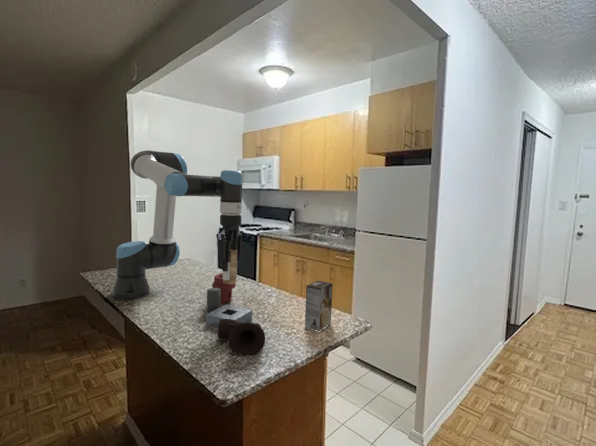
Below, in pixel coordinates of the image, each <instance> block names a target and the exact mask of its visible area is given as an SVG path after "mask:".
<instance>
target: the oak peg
mask: <svg viewBox="0 0 596 446" xmlns="http://www.w3.org/2000/svg"><path fill="white" fill-rule="evenodd" d="M229 262H230V280H223V283H226V284H233V283H237V278H236V275H237V276H238V260H237V250H233V249H230V256H229Z"/></svg>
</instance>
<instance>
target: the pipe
mask: <svg viewBox="0 0 596 446" xmlns="http://www.w3.org/2000/svg"><path fill="white" fill-rule="evenodd" d="M217 339H218V340H221V341H227V343H228V346H229V348H230V350H231V351H232V352H233V353H234V354H237V355H240V356H242V357H251V356H255V355H257V354H258V353H260V352H261V351H262V350H263V348H264V346H265V343H266V334H265V331H264V329H263V328H262V326H261V324H260V323H257V322H256V323H255V322H251V321H250V322H244V323H243V322H237V321H235V320H233V319H221V320H220V322H219V327H218V328H217Z"/></svg>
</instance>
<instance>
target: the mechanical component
mask: <svg viewBox="0 0 596 446" xmlns="http://www.w3.org/2000/svg"><path fill="white" fill-rule="evenodd" d="M213 280H214V281H213V282H212V283H211V288H219V289H221V299H220V305H221V304H222V305H223V304H225V303H228V302H229V303H230V302H232V298H233V297H232V296H233V289H235V288H236V286H237V285H236V283H237V282H236V283H233V284H226V283H223V272H221V273H218V274H215V275H214V277H213Z"/></svg>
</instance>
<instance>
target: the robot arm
mask: <svg viewBox="0 0 596 446" xmlns="http://www.w3.org/2000/svg"><path fill="white" fill-rule="evenodd" d="M130 169H131V170H132V172H133V173H134V175H136V176H137V177H139V178H142V179H146V180H147V179H149V180H151V181H152V182H153V183H154V184H155V185H156V191H155V192H156V193H155V202H154V203H155V204H154V206H155V207H154V216H153V217H154V219H153V230H152V236H150V237H149V239H148V243H146V242H145V241H143V240H142V241H141V240H137V241H135V240H134V241H129V242H124V243H122V244H120V245H118V246H117V247H116V255H115V258H116V261H115V262H116V280H115V283H114V285H113V289H112V292H111V293H112V295H111V296H112V297H113V298H115V299H118V300H131V299H140V298H143V297H146V296H148V295H149V294H150V292H151V290H150V289H151V288H150V285H149V282H148V278H147V276H146V270H151V269H158V268H167V267H171V266H174V265H175V264H176V263H177V262H178V260H179V258H180V254H181V253H180V251H181V249H180V245H179V243H178V242H177V241H176V239H175V238H174V236H173V235H174V223H175V212H176V203H177V202H176V200H177V197H209V198H211V197H215V198H217V197H218V198H220V200H219V203H220V204H219V213H220V216H219V225H220V226H222V228H221V232H220V233H216V240H217V260H218V262H221V263H222V267H221V268H222V273H223V280H230V262H229V256H230V249H233V250H237V261H240V260H241V257H242V252H243V251H242V250H243V249H242V248H243V247H242V246H243V236H244V230H240V226H241V225H242V215H241V214H242V207H243V206H242V200H243V185H244V184H243V183H244V182H243V174H242V172H241V171H240V170H225V169H224V170H221V172H220V176H217V175H215V176H213V175H200V174H199V175H196V174H195V175H194V174H188V165H187V161H186V159H185V157H183V155H181V154H179V153H174V152H166V151H155V150H148V149H147V150H142V151H139V152H137V153H135V154H134V155H133V156H132V158H131V160H130ZM237 277H238V274H237V275H236V279H237Z"/></svg>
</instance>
